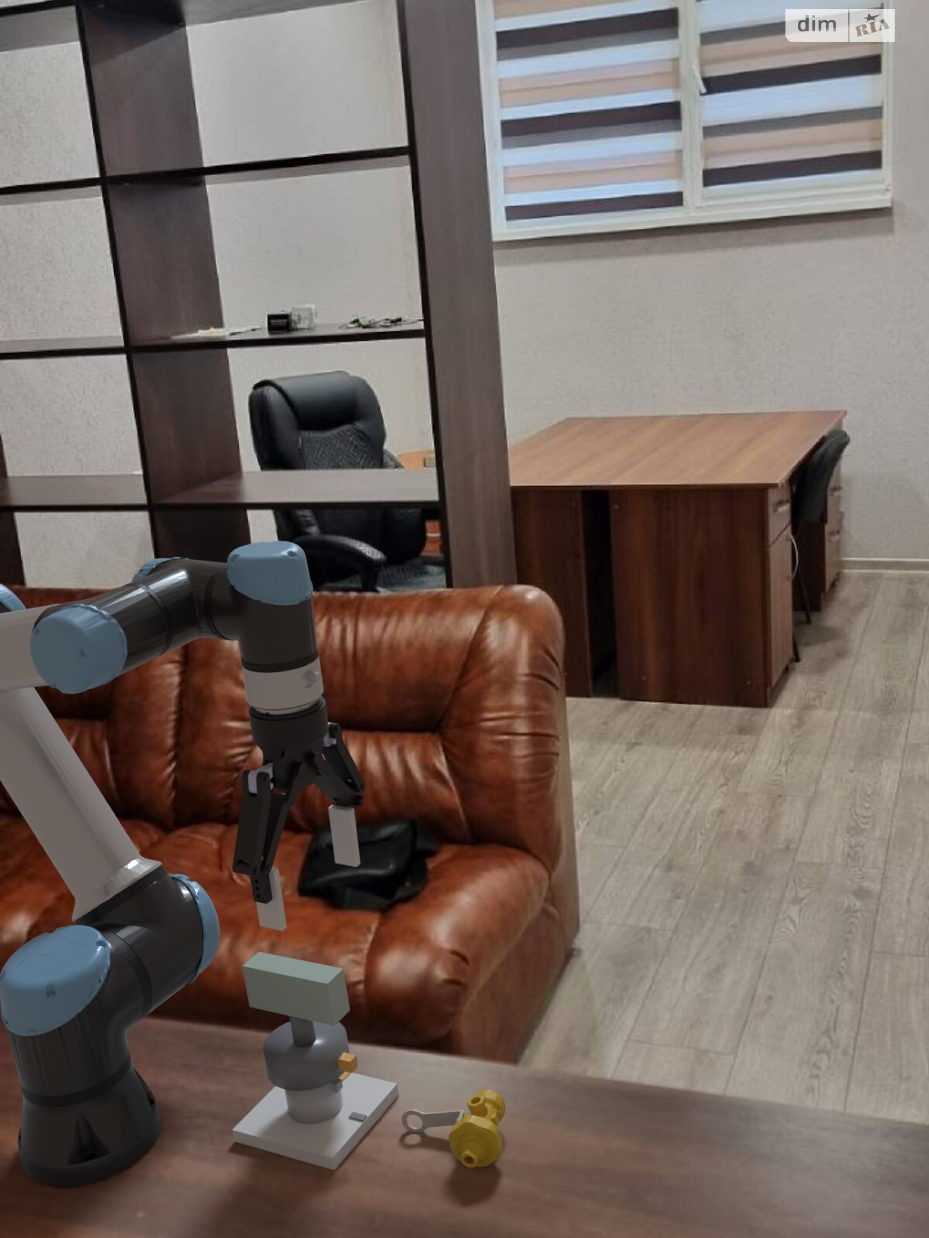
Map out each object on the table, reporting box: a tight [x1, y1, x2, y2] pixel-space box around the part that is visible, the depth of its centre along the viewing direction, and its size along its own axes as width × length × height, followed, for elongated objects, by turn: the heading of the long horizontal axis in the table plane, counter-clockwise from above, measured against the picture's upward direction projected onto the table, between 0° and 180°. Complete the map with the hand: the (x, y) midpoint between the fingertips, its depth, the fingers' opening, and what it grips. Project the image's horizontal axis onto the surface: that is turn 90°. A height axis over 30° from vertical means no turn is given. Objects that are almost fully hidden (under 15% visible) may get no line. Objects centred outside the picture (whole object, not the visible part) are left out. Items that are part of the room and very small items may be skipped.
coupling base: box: [232, 1072, 400, 1171], centre depth 148 cm, size 13×13×6 cm
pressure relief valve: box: [401, 1089, 506, 1169], centre depth 141 cm, size 6×12×10 cm
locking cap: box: [242, 951, 359, 1091], centre depth 145 cm, size 12×9×12 cm
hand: (312, 894), depth 139 cm, fingers open, 13 cm apart
